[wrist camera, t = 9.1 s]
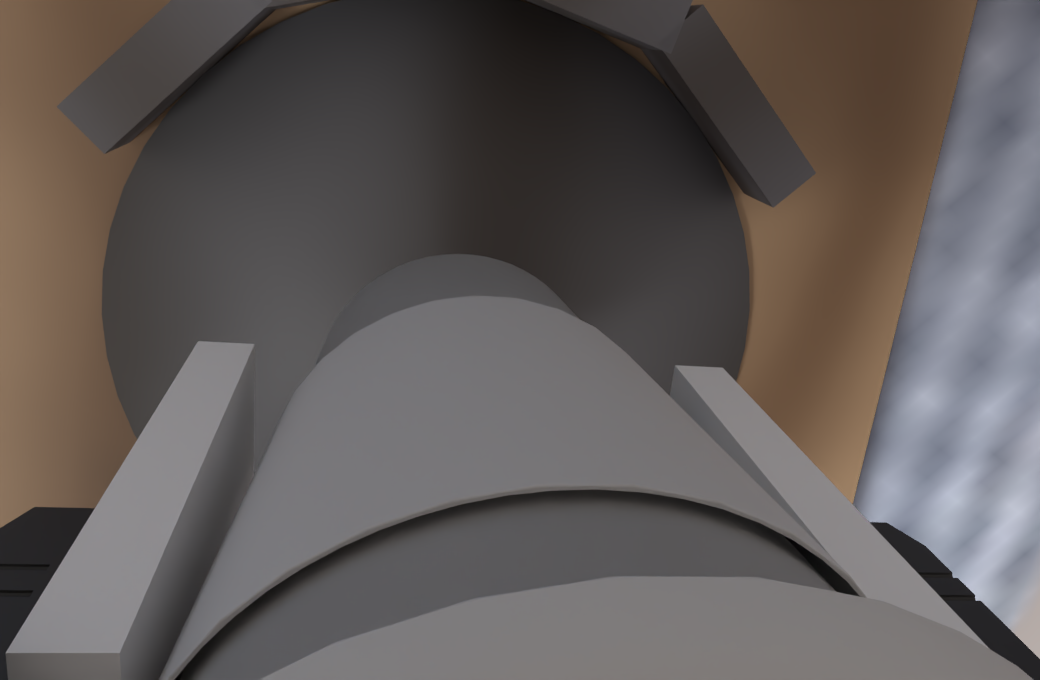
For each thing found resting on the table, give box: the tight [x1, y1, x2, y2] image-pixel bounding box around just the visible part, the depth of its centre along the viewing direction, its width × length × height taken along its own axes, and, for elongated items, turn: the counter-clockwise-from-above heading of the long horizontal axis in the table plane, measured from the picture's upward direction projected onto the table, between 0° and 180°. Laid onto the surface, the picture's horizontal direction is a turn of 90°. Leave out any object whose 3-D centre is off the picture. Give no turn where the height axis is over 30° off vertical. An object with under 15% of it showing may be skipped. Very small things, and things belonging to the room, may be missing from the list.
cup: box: [159, 254, 1033, 680], centre depth 10 cm, size 7×7×12 cm
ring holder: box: [0, 0, 978, 528], centre depth 18 cm, size 20×18×3 cm
